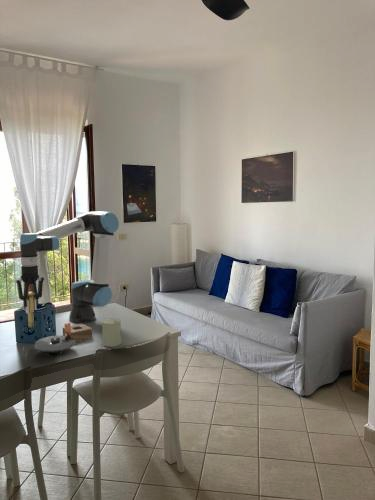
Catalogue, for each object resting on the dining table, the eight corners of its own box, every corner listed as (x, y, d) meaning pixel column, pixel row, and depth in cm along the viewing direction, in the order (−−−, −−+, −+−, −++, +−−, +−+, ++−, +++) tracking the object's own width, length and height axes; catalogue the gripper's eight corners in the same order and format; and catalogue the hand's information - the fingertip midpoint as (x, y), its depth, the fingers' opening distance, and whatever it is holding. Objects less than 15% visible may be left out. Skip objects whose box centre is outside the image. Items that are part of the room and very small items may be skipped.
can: (112, 348, 197) (111, 323, 195) (98, 344, 202) (97, 320, 200) (124, 342, 204) (124, 319, 203) (111, 339, 209) (110, 316, 208)
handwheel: (49, 355, 178) (48, 336, 177) (27, 345, 189) (26, 328, 188) (83, 343, 192) (82, 326, 191) (60, 335, 203) (59, 319, 202)
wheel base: (46, 351, 191) (46, 345, 191) (59, 348, 195) (58, 342, 195) (52, 355, 187) (51, 348, 187) (64, 352, 191) (64, 345, 191)
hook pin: (25, 326, 201) (24, 292, 199) (34, 324, 204) (33, 291, 202) (28, 328, 198) (27, 293, 196) (37, 326, 201) (36, 292, 199)
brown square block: (62, 336, 212) (62, 327, 211) (82, 332, 219) (82, 323, 218) (72, 342, 204) (72, 332, 203) (92, 337, 211) (92, 328, 210)
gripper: (15, 267, 189) (17, 317, 192) (48, 264, 200) (50, 311, 202) (9, 265, 195) (11, 313, 197) (42, 262, 205) (44, 308, 208)
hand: (31, 312), depth 200 cm, fingers closed on hook pin, 3 cm apart
